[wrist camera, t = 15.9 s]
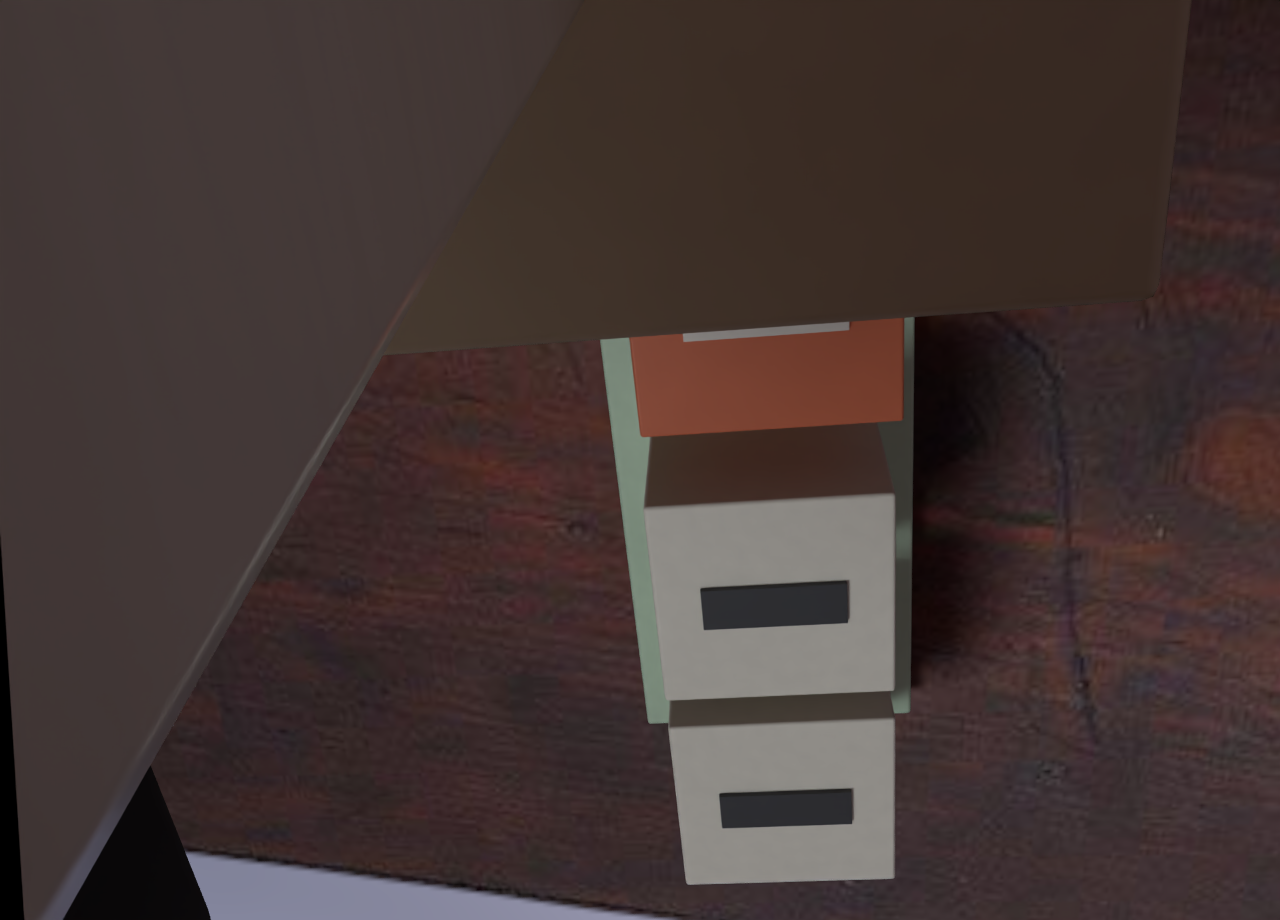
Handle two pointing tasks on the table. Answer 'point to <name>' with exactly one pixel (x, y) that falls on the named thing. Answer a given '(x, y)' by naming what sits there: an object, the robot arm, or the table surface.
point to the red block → (769, 377)
